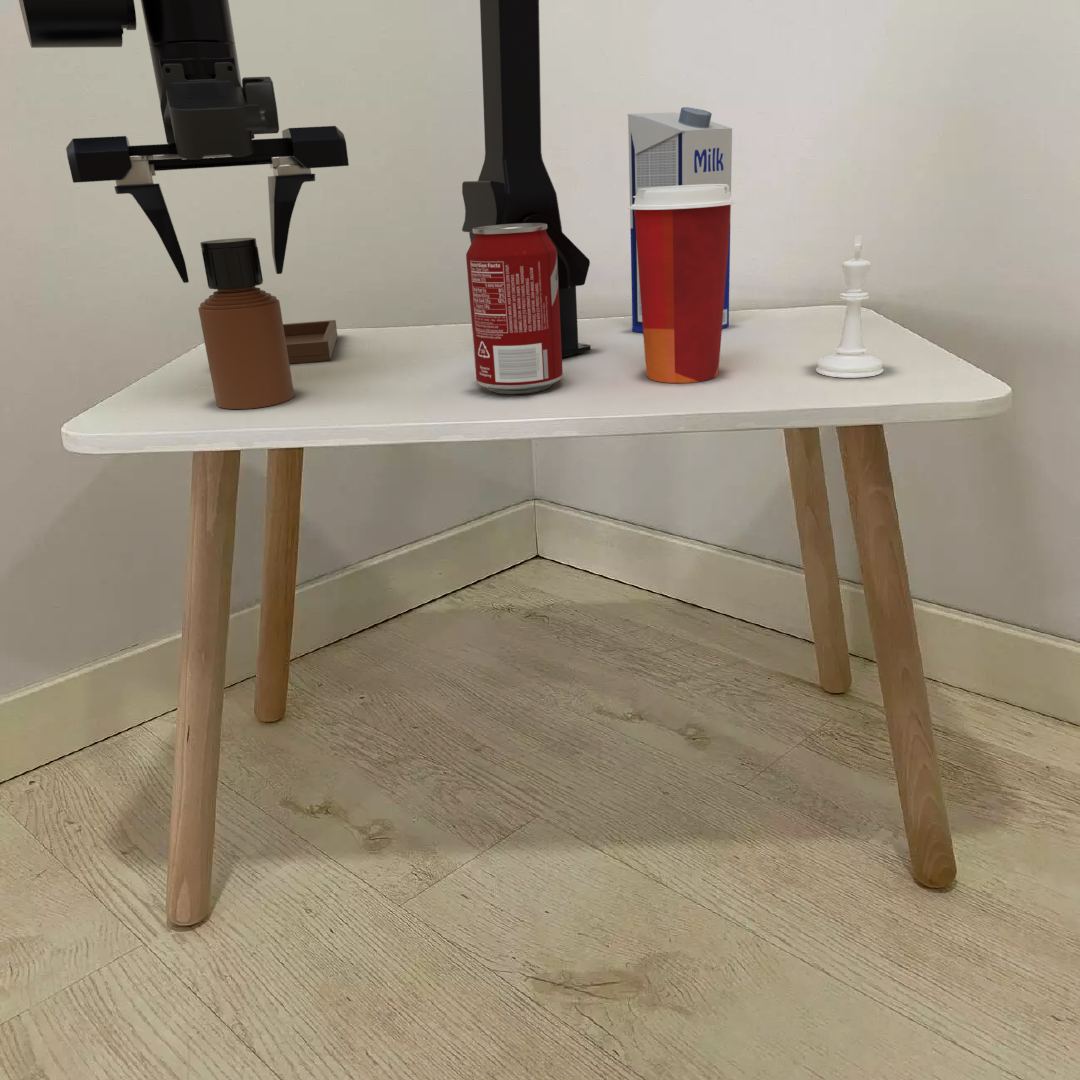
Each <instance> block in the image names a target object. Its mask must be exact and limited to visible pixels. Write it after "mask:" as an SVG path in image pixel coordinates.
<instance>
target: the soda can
mask: <svg viewBox="0 0 1080 1080" xmlns="http://www.w3.org/2000/svg"><path fill="white" fill-rule="evenodd" d="M546 229H547V224H545V223H517V224H501V225H490V226H481V227H476V228H473V233H474V239H473V241H472V243H471V242H470V245H469V247H468V249H467V251H466V253H465V254H466V255H465V260H466V270H467V283H468V295H469V297H468V299H469V305H470V306H469V307H470V308H469V309H470V321H471V334H472V346H473V357H474V369H475V380H476V381H475V382H476V383H477V385H479V386H480V387H484V388H486V389H487V390H488V391H489V392H491V393H494V394H499V395H525V394H534V393H539V392H542V391H546V390H548V389H550V388H551V387H552V386H553V384H555V383H557V382H559V381H561V379H562V378H563V372H564V371H563V357H562V350H561V328H560V307H559V285H558V264H557V249H556V247H555V245H554V244H553V242H552V241H551V239H550V238H549V236H548V235H547V233H546Z"/></svg>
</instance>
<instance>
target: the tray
mask: <svg viewBox="0 0 1080 1080" xmlns="http://www.w3.org/2000/svg"><path fill="white" fill-rule="evenodd" d="M283 327H284V334H285V340H286V346H287V353H288V359H289V365H293V364H303V363H304V364H305V363H316V362H327V361H331V358H332V356H333V353H334V349H335V346H336V343H337V340H338V337H339V335H338V329H337V320H336V319H330V320H318V321H305V322H304V321H303V322H293V323H283Z"/></svg>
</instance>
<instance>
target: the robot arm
mask: <svg viewBox="0 0 1080 1080" xmlns="http://www.w3.org/2000/svg"><path fill="white" fill-rule="evenodd" d="M18 4H19V8H20V12H21V16H22V20H23V24H24V28H25V32H26V35H27V39H28V43H29V45H30V48H33V49H36V48H37V49H38V48H39V49H43V48H48V49H49V48H50V49H53V48H54V49H56V48H61V49H63V48H123V43H124V42H123V35H124V29H126V31H137V14H136V13H137V12H136V6H135V0H18ZM140 5H141V9H142V15H143V21H144V26H145V31H146V36H147V41H148V46H149V52H150V57H151V61H152V63H151V64H152V67H153V73H154V79H155V84H156V89H157V93H158V99H159V107H160V113H161V118H162V123H163V128H164V134H165V139H166V143H159V144H157V143H156V144H140V145H130V140H129V138H128V136H126V135H119V136H118V135H117V136H99V137H98V136H97V137H96V136H95V137H78V138H76V137H75V138H74V137H73V138H71V140H70V141H69V143H68V144H67V145H66V148H65V150H66V157H67V162H68V166H69V170H70V175H71V181H72V183H75V184H76V183H78V184H79V183H90V182H91V183H92V182H109V181H115V186H114V187H113V188H114V192H115V194H116V195H127V194H129V195H130V196H132V197H133V199H134V200H135V201H136V203H137V204H138V206H139V207H140V208H141V210H142V211H143V212H144V214H145V216H146V217H147V218H148V220H149V222H150V223H151V225H152V226H153V228H154V229H155V231H156V233H157V234H158V236H159V239H160V240H161V242H162V244H163V246H164V248H165V251H166V252H167V254H168V255H169V258H170V259H171V261H172V263H173V265H174V268H175V269H176V271H177V272H178V273H177V274H178V275H179V277H180V279H181V281H182V283H183V284H188V283H189V281H190V280H189V275H188V271H187V265H186V260H185V257H184V254H183V251H182V248H181V244H180V242H179V238H178V236H177V233H176V230H175V226H174V224H173V222H172V218H171V215H170V211H169V209H168V205H167V202H166V200H165V199H166V198H165V197H164V194H163V191H162V188H161V184H160V183H157V182H156V183H155V181H154V177H153V176H157V175H156V172H160V171H161V172H162V171H173V170H174V171H175V170H176V171H178V170H191V169H192V170H194V169H195V170H196V169H209V168H211V169H212V168H228V167H229V168H230V167H245V166H260V165H261V166H262V165H263V166H264V165H269V168H270V169H272V174H273V175H269V176H267V188H268V189H267V191H268V207H269V225H270V241H271V255H272V260H273V261H272V262H273V265H274V266H273V267H274V271H275V273H276V275H281V274H283V270H284V264H285V257H286V251H287V244H288V238H289V231H290V227H291V226H290V225H291V220H292V216H293V212H294V209H295V207H296V206H295V205H296V202H297V199H298V196H299V194H300V191H301V189H302V186H303V184H304V183H309V182H316V173H312V170H311V169H321V168H322V169H323V168H337V167H349V165H350V164H349V163H350V162H349V156H348V155H349V154H348V147H347V142H346V137H345V134H344V133H343V131H341V130H340V129H339V128H338V127H337V126H336V125H324V126H303V127H288V128H285V129H282V131H281V134H282V135H281V136H282V137H277V138H275V137H274V138H259V139H257V138H256V139H255V135H267V134H271V135H272V134H278V133H279V132H280V124H279V114H278V107H277V99H276V95H275V89H274V88H275V87H274V81H273V80H272V78H271V76H247V77H246V76H245V77H242V78H241V72H240V64H239V58H238V52H237V47H236V39H235V33H234V28H233V21H232V16H231V7H230V2H229V0H140ZM479 8H480V9H479V11H480V12H479V14H480V17H479V18H480V43H481V71H482V72H481V74H482V100H483V104H482V105H483V126H484V127H483V128H484V129H483V130H484V132H483V133H484V160H483V164H482V167H481V170H480V173H479V176H478V179H477V180H465V181H464V180H463V182H462V183H461V184H462V185H461V193H462V198H463V203H464V210H465V211H464V212H465V213H464V222H463V225H462V228H461V231H462V232H463V233H469V234H468V235H469V241H470V244H471V243H472V241H473V239H474V233H473V228H476V227H481V226H490V225H501V224H517V223H545V224H547V229H546V233H547V235H548V236H549V238H550V239H551V241H552V242H553V244H554V245H555V247H556V249H557V264H558V285H559V307H560V328H561V350H562V358H564V357H568V356H569V357H570V356H573V355H577V354H581V353H584V352H585V353H586V352H589V351H592V346H591V344H587V343H581V342H579V330H578V305H577V304H578V303H577V301H578V300H577V287H581V286H584V285H585V284H586V280H587V277H588V272H589V270H590V269H589V268H590V264H591V261H590V259H589V258H588V257H587V255H586V254H585V253H584V252H582V250H580V249H579V248H578V246H577V245H575V244H574V243H573V241H571V239H570V238H569V237H568V236H567V235H566V234H565V233H564V232H563V227H562V219H561V214H560V207H559V201H558V195H557V191H556V189H555V186H554V184H553V181H552V179H551V176H550V174H549V172H548V169H547V167H546V165H545V162H544V160H543V159H544V158H543V154H542V111H541V110H542V108H541V102H542V101H541V99H542V98H541V43H540V41H541V40H540V39H541V38H540V37H541V33H540V0H479Z"/></svg>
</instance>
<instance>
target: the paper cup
mask: <svg viewBox="0 0 1080 1080" xmlns="http://www.w3.org/2000/svg"><path fill="white" fill-rule="evenodd" d="M633 198H635V202H634V204H633V205H631V207H630V206H628V209H629V210H630V209H634V211H635V225H636V239H637V253H638V268H639V282H640V296H641V310H642V324H643V333H642V334H643V335H642V336H643V349H644V357H645V358H644V360H645V369H646V375H647V378H648V379H649V380H651V381H655V382H659V383H667V384H668V383H669V384H686V383H687V384H691V383H697V382H704V381H709V380H712V379H715V378H716V377H718V374H719V366H720V358H721V345H722V335H723V334H722V333H723V328H722V321H723V307H724V294H725V282H726V271H727V259H728V248H729V230H730V231H731V222H730V212H731V213H732V211H731V210H732V205H735V204H736V202H735V199H734V198H732V193H731V194H730V191H729V186H728V184H700V185H680V186H664V187H651V188H641V189H638V192H637V195H636V196H633Z"/></svg>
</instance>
